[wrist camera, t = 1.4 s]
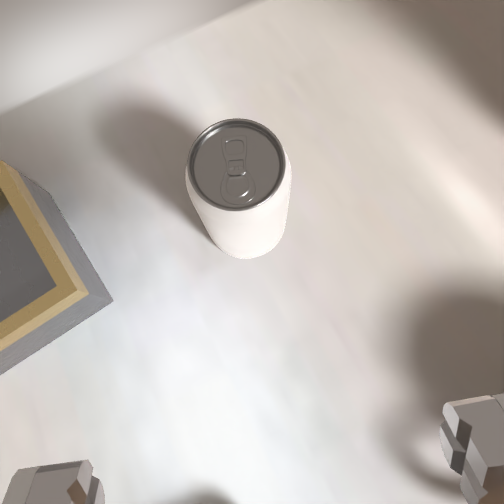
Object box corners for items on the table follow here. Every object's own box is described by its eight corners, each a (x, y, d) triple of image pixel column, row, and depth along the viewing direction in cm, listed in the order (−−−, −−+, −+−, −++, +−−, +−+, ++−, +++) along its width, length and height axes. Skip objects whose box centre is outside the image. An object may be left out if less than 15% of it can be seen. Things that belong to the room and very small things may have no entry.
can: (210, 263, 37) (182, 223, 25) (205, 187, 38) (176, 116, 26) (289, 256, 37) (299, 212, 25) (281, 180, 38) (287, 106, 26)
